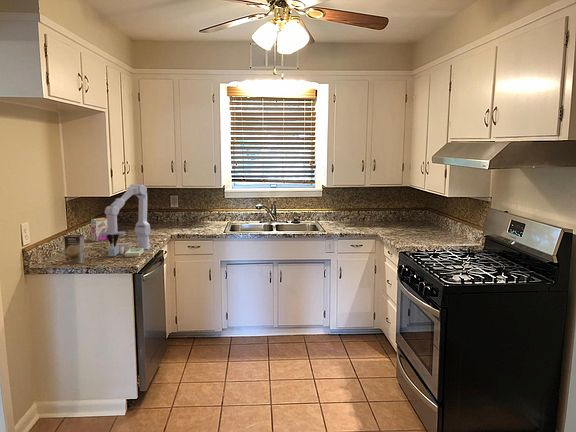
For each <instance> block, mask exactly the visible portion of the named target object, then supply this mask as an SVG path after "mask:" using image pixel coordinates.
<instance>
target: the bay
mask: <svg viewBox="0 0 576 432" xmlns="http://www.w3.org/2000/svg"><path fill="white" fill-rule="evenodd" d="M107 246H108V249H109V248H110V247H111V245H110V243H108V245H107ZM116 246H119V254H120V255H121V254H124V253H125V252H127V251H128V250H129V249H130V248H131V244H130V242H129V243H126V242H125V243H122V242H121V243H119V242H118V243H117V242H116ZM124 251H125V252H124Z"/></svg>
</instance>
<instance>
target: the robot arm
mask: <svg viewBox="0 0 576 432" xmlns="http://www.w3.org/2000/svg"><path fill="white" fill-rule="evenodd" d="M147 189H148V188H147V186H145V185H144V184H135V183H132V184H130V185H129V186H128V187H127V190H126V191H125V192H124V193H123V194H122V196H121V197H117V198H115V199H114V201H113V202H112V203H111V204H110V205H108V206H106V207H105V209H104V214H105V215H106V216H105V218H107V226H108V232H101V233H100V236H102V235H107V238H108V239H107V240H108V241H109V244H110V245H111V243H113V242H114V247H115V246H116V244H117V241H118V240H119V237H120V236H125V235H126V231H118V215H119V213H120V210H121V209H122V208H123V207H124V206H125V204H126V202H127V200H128V199H129V198H131V197H133V195H134V196H136V197H137V198H138V217H137V218H138V221H137V222H136V223H135V227H134V234H136V236H137V248H144V250H149V249H150V248H151V247H152V246H151V245H150V237H149V236H150V234H151V232H152V229H151V223H149V222H148V191H147ZM111 247H112V246H111Z"/></svg>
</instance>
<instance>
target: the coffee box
mask: <svg viewBox="0 0 576 432" xmlns="http://www.w3.org/2000/svg"><path fill="white" fill-rule="evenodd" d="M64 252H65V264H83V263H85V261H86V260H85V259H86V256H85V254H86V252H85V236H84V234H68V235H66V236H64Z"/></svg>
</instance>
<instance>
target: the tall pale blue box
mask: <svg viewBox="0 0 576 432" xmlns="http://www.w3.org/2000/svg"><path fill="white" fill-rule="evenodd" d="M111 246H112V247H110V248H109V247H108V248H107V257H116V256H117V255H118V254H120V252H119V246H115V247H114V241H113V243H111Z"/></svg>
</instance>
